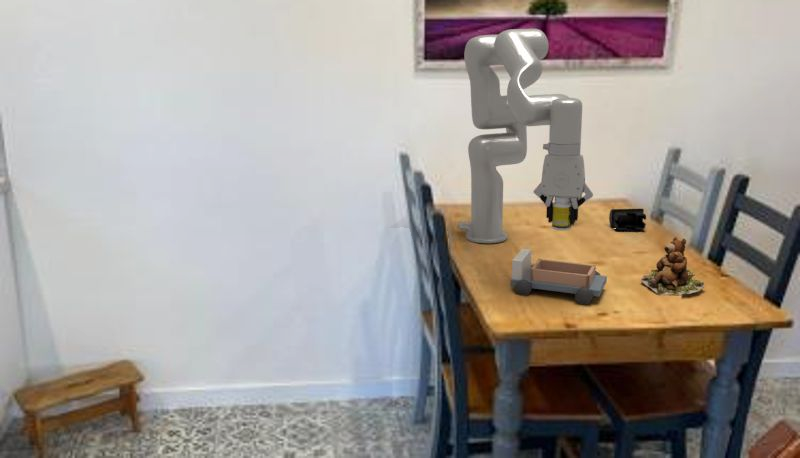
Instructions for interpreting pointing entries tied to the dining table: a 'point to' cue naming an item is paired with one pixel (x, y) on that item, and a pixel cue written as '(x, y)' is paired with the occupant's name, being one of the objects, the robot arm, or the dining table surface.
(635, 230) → the end cap
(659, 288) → the bear figurine
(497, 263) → the dining table surface
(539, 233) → the dining table surface
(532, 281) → the toy truck
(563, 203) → the supplement bottle
